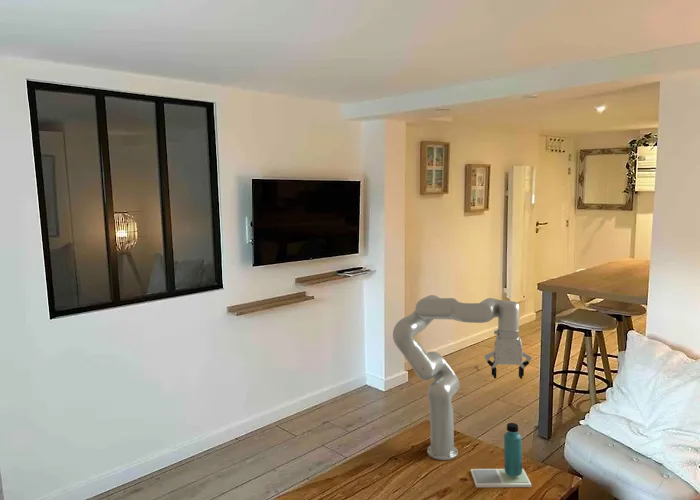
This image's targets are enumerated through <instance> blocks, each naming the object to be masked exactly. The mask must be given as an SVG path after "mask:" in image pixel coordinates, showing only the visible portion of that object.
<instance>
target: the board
mask: <svg viewBox="0 0 700 500" xmlns="http://www.w3.org/2000/svg"><path fill="white" fill-rule="evenodd" d="M470 473H471V476H472V479H473V483H474V485H475V487H476V488H532V487H533V486H532V483H531V480H530V478H529V476H528V475H527V473H526V471H525V469H524V468H522V474H521V475H519V476H511V475H508V474H507V473H506V472H505V468H470Z"/></svg>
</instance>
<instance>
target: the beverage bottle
mask: <svg viewBox="0 0 700 500" xmlns="http://www.w3.org/2000/svg"><path fill="white" fill-rule="evenodd" d="M503 440H504V441H503V443H504V444H503V448H504V449H503V454H504V455H503V459H504V460H503V461H504V465H503V469H505V472H506V473H507V474H508V475H511V476H519V475H521V474H522V469H523V450H522V449H523V448H522V446H523V445H522V435H521V434H520V433H519V425H518V424H517V423H515V422H509V423H507V424H506V432H505V433H504V435H503Z"/></svg>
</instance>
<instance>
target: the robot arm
mask: <svg viewBox="0 0 700 500" xmlns="http://www.w3.org/2000/svg"><path fill="white" fill-rule="evenodd" d="M495 318H497V323H498V324H497V329H496V330H494V331H493V335H496V337H495V341H494V348H493V351H491V352H489V353H487V354H484V355H483V356H484V358H485V360H486V362H487V364H488V365H489V366H490V367H491V376H492V377H493V379H497V368H496V367H497V366H498V365H501V366H502V365H503V366H504V365H506V366H508V365H509V366H518V377H519V379H520V380H522V379H523V377H524V375H525V369H526V367H527V366H528V365H529V364H530V362H531V360H532V356H531V355H530V354H528V353H525V352H524V351H523V342H522V338H521V337H520V336H519V335H520V331H519V329H520V305H519V303H518V302H517V301H515V300H514V301H513V300H502V299H496V298H492V297H488V298H485V299H483V300H482V301H480V302H479V303H472V302H471V303H470V302H469V303H467V302H460V301H458V300H457V299H456V298H454V297H439V296H437V295H435V294H434V295H432V294H431V295H427V296H425V297H423V298H421V299H419V300H418V301H417V303H416V304H415V310H414V311H412V313H410V314H408V315H407V316H404V317H403V318H401V319H400V320H398V321H397V323H396V324H395V325H394V327H393V330H392V339H393V343H394V345H395V346H396V347H397V349H398V350H399V351H400V353H401V354H402V355H403V357H404V358H405V360H406V361H407V363H408V364H409V365H410V367H411V368H412V370H413V371H414V372H415V374H416V375H417V377H418V378H419V379H420V380H422V381H429V380H431V379H434V380H433V381H432V382H431V383H430V385H429V386H428V390H427V398H428V404H429V405H428V406H429V416H430V417H429V419H430V420H429V422H430V423H429V424H430V425H429V426H430V427H429V428H430V436H429V440H430V445H429V446H428V447H427V449H426V450H427V455H428V456H429V457H430V458H432V459H435V460H439V461H449V460H450V461H451V460H453V459H455V458H456V457H457V456H458V454H459V450H458V448H457V447H456V446H455V432H454V431H455V429H454V427H455V425H454V408H453V407H454V406H453V404H452V398H453V397H454V395H456V393H457V392H458V391H459V390H460V379H459V378H458V376H457V374H456V373H455V371H454V370H453V369H452V367H451V366H450V364H449V363H448V362H447V361H446V359H445V358H444V357H443V356H442V355H441V353H439V352H436V351H426V350H425V348H423V346H422V344H420V342H419V341H418V340H416V339H415V338H414V337H415V335H417V334H419V333H421V332H422V331H423V330H425V329H426V328H427V327H428V326H429V325H430V323H432V322H433V321H434V320H452V321H453V320H454V321H457V322H460V323H469V324H470V323H471V324H472V323H479V324H484V323H489V322H490V321H491V320H493V319H495ZM492 357H493V359H494V360H492V361H491V360H490V358H492ZM523 358H525V360H524V359H523ZM523 360H524V361H523Z"/></svg>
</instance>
